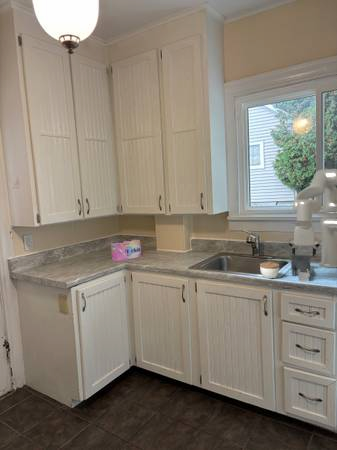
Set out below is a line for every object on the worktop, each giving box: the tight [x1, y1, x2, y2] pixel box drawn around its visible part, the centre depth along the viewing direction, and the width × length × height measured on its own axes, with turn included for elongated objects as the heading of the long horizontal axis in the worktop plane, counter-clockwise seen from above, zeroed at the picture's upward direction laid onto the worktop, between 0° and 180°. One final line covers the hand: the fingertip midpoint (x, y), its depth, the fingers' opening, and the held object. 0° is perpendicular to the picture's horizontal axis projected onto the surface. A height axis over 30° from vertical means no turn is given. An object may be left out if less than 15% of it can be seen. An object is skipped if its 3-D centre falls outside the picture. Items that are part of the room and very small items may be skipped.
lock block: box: [297, 269, 310, 282], centre depth 186 cm, size 7×5×5 cm
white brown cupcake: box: [259, 261, 280, 279], centre depth 192 cm, size 11×11×9 cm
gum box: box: [110, 238, 142, 262], centre depth 260 cm, size 24×8×14 cm, turn 129°
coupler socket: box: [290, 254, 314, 278], centre depth 200 cm, size 18×11×9 cm, turn 162°
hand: (303, 255), depth 178 cm, fingers open, 9 cm apart
